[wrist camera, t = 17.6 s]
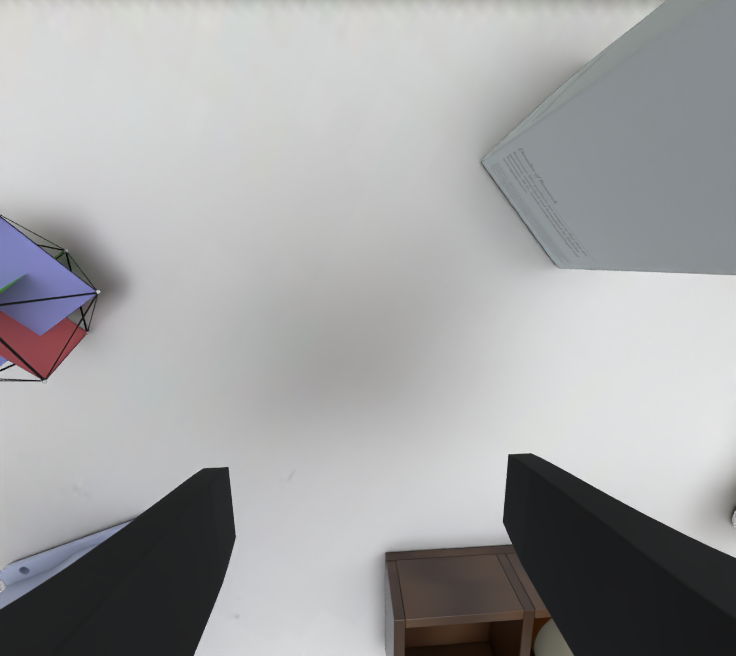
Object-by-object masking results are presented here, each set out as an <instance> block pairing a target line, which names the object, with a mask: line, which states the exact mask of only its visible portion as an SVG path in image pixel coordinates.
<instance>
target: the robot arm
mask: <svg viewBox="0 0 736 656" xmlns="http://www.w3.org/2000/svg"><path fill="white" fill-rule="evenodd" d="M503 523H504V526H505V528H506V530H507V533H508V535H509V538H510V540H511V542H512V545H513V547H514V549H515V551H516V554H517V556H518V558H519V560H520V563H521V564H522V566H523V568H524V570H525V572H526V573H527V575H528V577H529V579H530V581H531V582H532V584H533V586H534V588H535V589H536V591H537V593H538V595H539V596H540V598H541V600H542V602H543V603H544V605H545V607H546V609H547V610H548V612H549V614H550V615H551V617H552V619H553V621H554V622H555V624H556V626H557V628H558V629H559V631H560V633H561V634H562V636H563V638H564V640H565V641H566V643H567V645H568V647H569V648H570V650H571V652H572V653H573V655H574V656H736V558H734V557H732V556H730V555H728V554H725V553H723V552H721V551H719V550H716V549H714V548H712V547H710V546H708V545H705V544H703V543H701V542H699V541H697V540H695V539H693V538H691V537H689V536H687V535H685V534H683V533H681V532H679V531H677V530H675V529H673V528H671V527H669V526H667V525H665V524H663V523H661V522H659V521H657V520H655V519H653V518H651V517H649V516H647V515H645V514H643V513H641V512H639V511H637V510H635V509H634V508H632V507H630V506H628V505H626V504H624V503H622V502H620V501H619V500H617V499H615V498H613V497H611V496H609V495H608V494H606V493H604V492H602V491H600V490H599V489H597V488H595V487H593V486H591V485H590V484H588V483H586V482H584V481H582V480H581V479H579V478H577V477H575V476H574V475H572V474H570V473H568V472H566V471H565V470H563V469H561V468H559V467H557V466H555V465H554V464H552V463H550V462H548V461H546V460H544V459H542V458H540V457H538V456H536V455H534V454H531V453H529V454H508V466H507V479H506V491H505V503H504V515H503ZM235 538H236V535H235V525H234V515H233V506H232V496H231V487H230V477H229V468H228V467H222V468H203V469H202V470H200V471H199V472H197V473H196V474H194V475H193V476H192V477H190V478H189V479H187V480H186V481H185V482H183V483H182V484H181V485H179V486H178V487H177V488H175V489H174V490H173V491H171V492H170V493H169V494H168V495H166V496H165V497H164V498H162V499H161V500H160V501H158V502H157V503H156V504H154V505H153V506H152V507H150V508H149V509H148V510H146V511H145V512H144V513H142V514H141V515H140V516H138V517H137V518H136V519H134V520H132V521H129V522H126V523H124V524H121V525H118V526H115V527H112V528H110V529H107V530H104V531H101V532H98V533H96V534H93V535H90V536H87V537H84V538H82V539H79V540H76V541H73V542H70V543H68V544H65V545H62V546H59V547H57V548H54V549H51V550H48V551H45V552H43V553H40V554H37V555H34V556H31V557H29V558H26V559H23V560H20V561H17V562H15V563H12V564H9V565H7V566H6V567H5V568H4V569H3V570H2V571H1V572H0V579H1V580H2V582H3V583H4V584H5V586H6V588H5V589H4V590H3V591H2V592H1V593H0V656H194V654H195V651H196V649H197V646H198V644H199V641H200V639H201V636H202V634H203V631H204V629H205V627H206V624H207V622H208V619H209V617H210V614H211V612H212V609H213V607H214V604H215V602H216V599H217V597H218V594H219V591H220V589H221V586H222V584H223V581H224V577H225V574H226V571H227V567H228V564H229V560H230V557H231V553H232V549H233V546H234V542H235Z"/></svg>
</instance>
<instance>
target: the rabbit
mask: <svg viewBox="0 0 736 656" xmlns="http://www.w3.org/2000/svg"><path fill="white" fill-rule="evenodd" d="M732 523H733V525H734V527H735V528H736V510H735V511H734V514H733V517H732Z"/></svg>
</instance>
